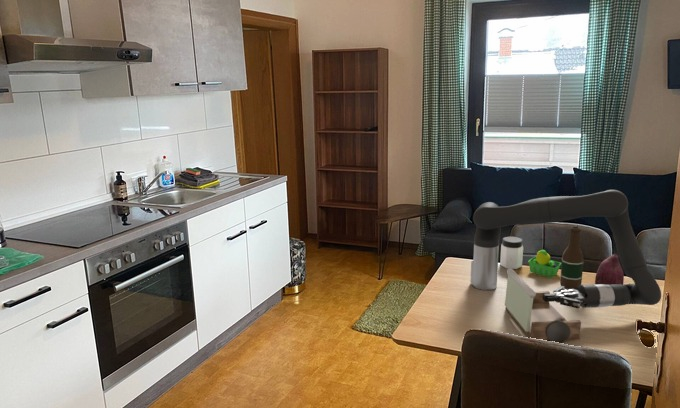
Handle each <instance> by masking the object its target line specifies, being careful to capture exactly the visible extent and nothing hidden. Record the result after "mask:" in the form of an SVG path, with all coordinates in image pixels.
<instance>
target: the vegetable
mask: <svg viewBox="0 0 680 408" xmlns="http://www.w3.org/2000/svg"><path fill="white" fill-rule="evenodd" d="M624 274H625V272H624V270H623V267H622V265H621V262H620V258H619V255H618V254H617V253H614V254H611V255H610V256H609V257H608V258H605V259H604V260H603V261H602V262H601V263H600V264H599V266H598V268H597V271H596V273H595V278H594V284H604V285H611V284H621V285H624V280H625V275H624Z"/></svg>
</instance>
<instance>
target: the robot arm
mask: <svg viewBox="0 0 680 408" xmlns="http://www.w3.org/2000/svg"><path fill="white" fill-rule="evenodd" d="M628 208H629V201H628V198H627V196H626V195H625V193H623V192H622V191H620V190H617V189H607V190H605V191H600V192H595V193H592V194H591V193H590V194H586V195H585V194H583V195H574V196H573V195H571V196H569V195H566V196H565V195H563V196H562V195H560V196H548V197H545V196H544V197H538V198H532V199H528V200H526V201H523V202H518V203H516V204H512V205H507V206H499V205H498V204H497V203H495V202H491V201H488V202H484V203H481V205H480V204H479V207H477V208H476V210H475V211H474V213H473V216H472V221H473V223H474V225H475V226H476V228H475V233H474V239H473V240H474V241H473V260H472V261H471V262H470V283H469V284H471V285H472V286H473V287H474V288H475V289H478V290H482V291H483V290H484V291H490V290H495V289H497V286H498V272H499V271H498V266H499V247H500V239H501V230H502V229H501V228H503V227H509V226H519V225H520V226H523V225H525V226H527V225H538V224H541V225H542V224H550V223H560V222H564V221H570V220H575V219H580V218H588V217H591V218H593V217H595V218H596V217H602V218H603V217H604V218H605V220H606V222H607V224H608V225H609V228H610V230H611V232H612V235H613V239H614V242H615V247H616V252H617V256H618V259H619V262H620V265H621V268H622V270H623V273H624V274H625V276H626V277H627V278H629V279H631V280H632V281H633V283H625V284H624V283H623V285H621V284H611V285H604V284H595V283H593V284H592V283H591V284H581V285H580V286H579V287H578V288H577V289H576V290H575V289H568V290H567V289H564V286H561V285H560V286H559V287H557V288H555V289H554V290H553V291H552V293H550V294H543V300H544V301H545V302H549V303H550V302H555V303H559V305H561V306H564V307H569V308H574V309H581V308H582V309H588V308H589V309H593V308H607V307H621V306H625V305H644V306H646V305H647V306H655V305H657V304H658V303H660V302H661V299H662V291H661V288H660V285H659V283H658V282H657V280H656V278H655V277H654V275H653V274H652V272H651V271H650V270H649V268H648V266H647V262H646V259H645V256H644V253H643V252H642V249H641V246H640V244H639V242H638V238H637V237H636V235H635V232H634V230H633V226H632V224H631V219H630V216H629V214H630V213H629V209H628Z"/></svg>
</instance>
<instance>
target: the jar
mask: <svg viewBox="0 0 680 408" xmlns="http://www.w3.org/2000/svg"><path fill="white" fill-rule="evenodd" d="M500 245H501V246H500V260H499V261H500V263H499V265H501V267H503V268H505V269H507V270H508V269H510V268H511V269H513V270H518V269H519V268H522V267H523V257H524V256H523V255H524V254H523V253H524V246H523V239H522V238H520V237H517V236H504V237H502V243H501V244H500Z"/></svg>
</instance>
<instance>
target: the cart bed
mask: <svg viewBox="0 0 680 408" xmlns="http://www.w3.org/2000/svg"><path fill="white" fill-rule="evenodd" d="M534 292H535V293H536V295H535V297H533V305H532V313H531V321H530V328H529V332H526V331H525V330H524V329H523V327H522V326H521V325H520V324H519V322H518V321H517V320H516V319H515V317H514V316H513V315H512V314H511V312H510V311H509V310H508V309H507V307H506V306H505V309H506V311H507V312H508V314H509V315H510V316H511V318H512V319H514V321H515V322H516V323H517V325H518V326H519V327H520V328H521V330H522V331H523V332H524V334H526V336H527V337H528V338H529V337H531V338H536V339H543V340H550V342H552V341H555V342H561V343H560V344H562V343H564V342H566V341H571V340H573V341H574V340H580V338H581V337H580V336H581V329H582V328H581V326H582V320H579V319H574V320H567V319H566V318H565V317H564V316H563V315H562V314H561V313H560V312H559V311H558V310H557V309H556V308H555V307H554V306H553V305H552V304H551V303H550V302H545V301H544V300H543V294H551V292H550V291H549V290H541V291H534Z"/></svg>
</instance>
